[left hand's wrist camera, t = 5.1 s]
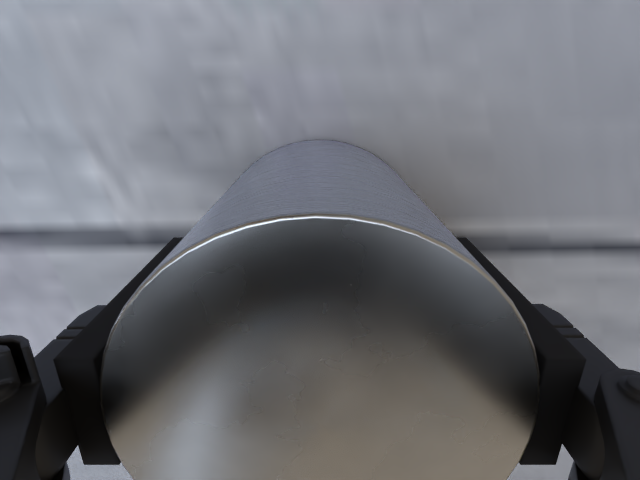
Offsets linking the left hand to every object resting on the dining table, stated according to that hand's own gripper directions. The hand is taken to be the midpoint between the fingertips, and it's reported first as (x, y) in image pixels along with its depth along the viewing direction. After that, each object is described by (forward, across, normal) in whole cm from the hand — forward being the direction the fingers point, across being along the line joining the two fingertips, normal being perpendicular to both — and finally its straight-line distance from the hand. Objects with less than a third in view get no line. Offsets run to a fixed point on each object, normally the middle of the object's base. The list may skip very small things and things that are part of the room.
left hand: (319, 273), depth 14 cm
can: (+3, 0, 0) cm, 3 cm away
